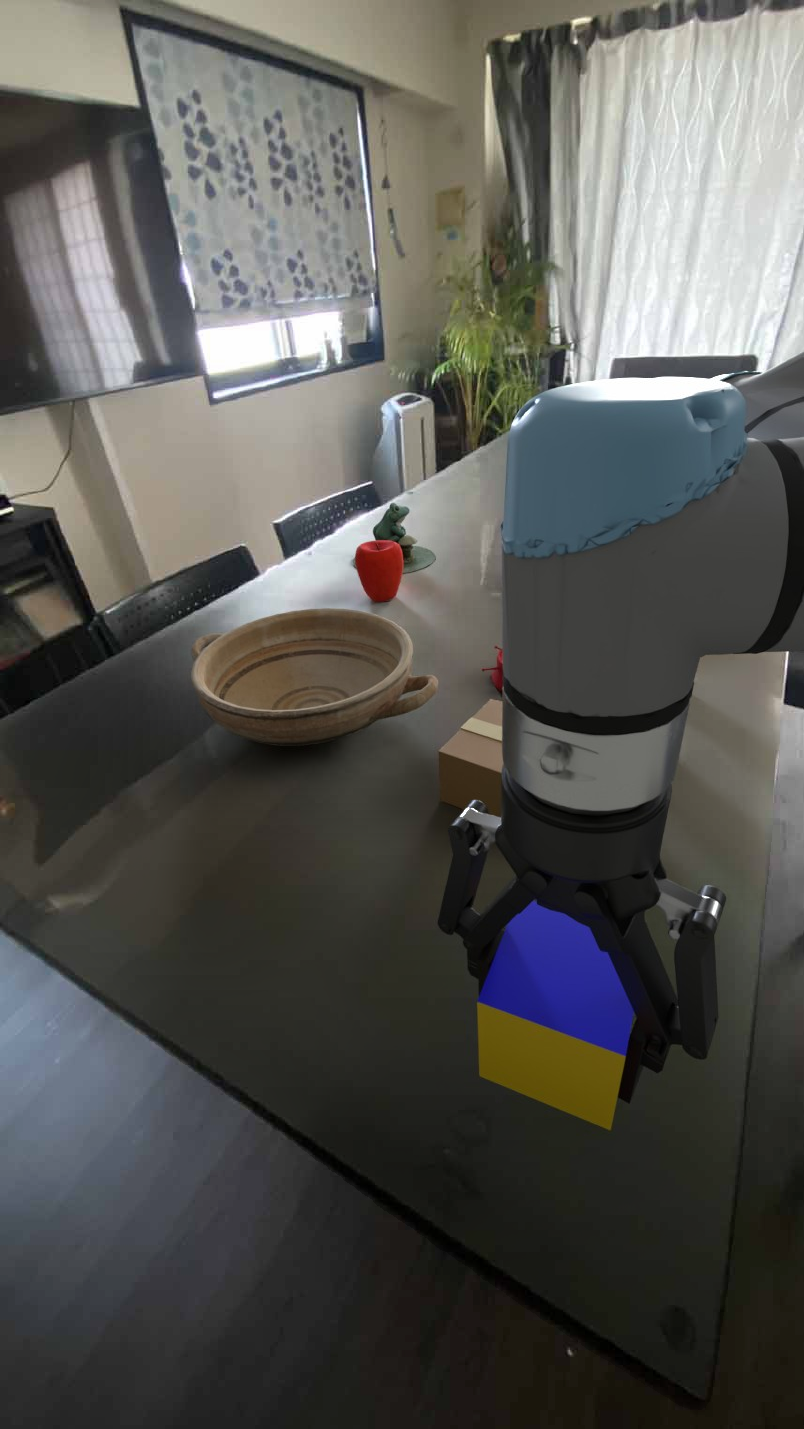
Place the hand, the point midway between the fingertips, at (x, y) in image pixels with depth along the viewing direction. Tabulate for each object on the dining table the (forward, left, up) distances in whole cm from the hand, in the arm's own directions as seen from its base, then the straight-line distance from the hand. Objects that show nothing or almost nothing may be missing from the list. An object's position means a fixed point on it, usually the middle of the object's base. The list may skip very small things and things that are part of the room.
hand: (558, 1041), depth 41 cm
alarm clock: (+24, -52, -7) cm, 58 cm away
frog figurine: (+73, -85, -7) cm, 112 cm away
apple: (+63, -67, -7) cm, 92 cm away
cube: (0, 0, 0) cm, 0 cm away
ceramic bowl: (+47, -29, -7) cm, 56 cm away
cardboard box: (+16, -29, -7) cm, 34 cm away
